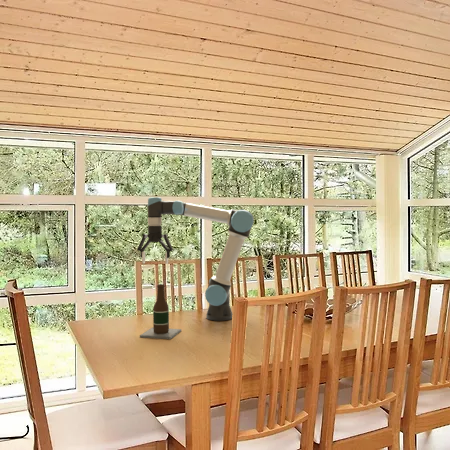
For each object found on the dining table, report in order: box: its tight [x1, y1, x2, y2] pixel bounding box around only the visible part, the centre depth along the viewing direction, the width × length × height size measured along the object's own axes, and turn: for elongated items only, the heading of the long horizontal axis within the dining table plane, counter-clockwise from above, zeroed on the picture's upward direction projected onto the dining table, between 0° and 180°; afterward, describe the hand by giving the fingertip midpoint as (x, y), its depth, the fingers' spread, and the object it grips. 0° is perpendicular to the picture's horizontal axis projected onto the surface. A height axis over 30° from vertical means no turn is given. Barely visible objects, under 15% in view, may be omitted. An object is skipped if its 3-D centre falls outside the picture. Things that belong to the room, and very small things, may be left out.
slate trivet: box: [139, 327, 182, 340], centre depth 240 cm, size 16×16×1 cm
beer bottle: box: [152, 283, 170, 334], centre depth 239 cm, size 8×8×24 cm
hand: (155, 263), depth 264 cm, fingers open, 13 cm apart
